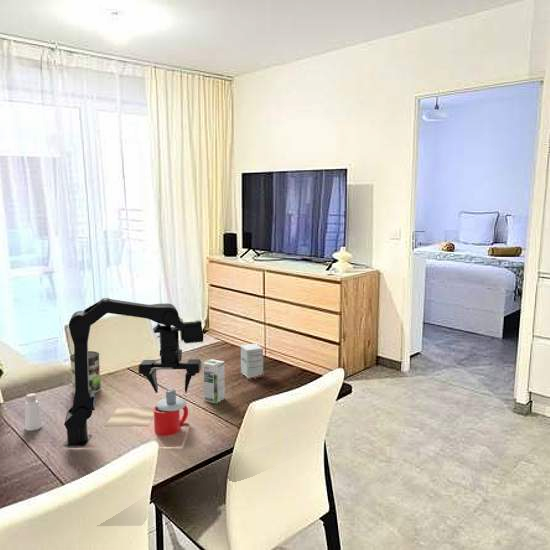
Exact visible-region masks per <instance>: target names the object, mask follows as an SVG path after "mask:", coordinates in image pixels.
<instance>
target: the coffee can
mask: <svg viewBox="0 0 550 550" xmlns="http://www.w3.org/2000/svg"><path fill="white" fill-rule="evenodd" d="M69 360H70V372H71V373H70V374H71V386H72V387H71V388H72V394H74V395H75V360H74V354H71V355H70V356H69ZM88 369H89V387H90V390H91V391H92V390H95V394H96V393H99V392H100V391H101V390H102V386H101V385H102V384H101V371H100V370H101V369H100V353H99V352H98V351H91V350H90V351H89V350H88Z"/></svg>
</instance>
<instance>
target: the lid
mask: <svg viewBox="0 0 550 550" xmlns="http://www.w3.org/2000/svg"><path fill="white" fill-rule="evenodd" d="M176 394H177V393H176V389H172V388H171V389H167V390H166V391H165V398H162V399H160V400H158V401H157V403H156V406H157V409H158V410H160V411H165V412H171V411H177V410H179V411H180V410H183V409H182V408H184V407H185V405H186V400H185V399H184V398H181V397H178V396H177V395H176ZM176 396H177V397H176ZM186 406H187V405H186Z"/></svg>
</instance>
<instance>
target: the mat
mask: <svg viewBox="0 0 550 550" xmlns="http://www.w3.org/2000/svg"><path fill="white" fill-rule="evenodd" d="M154 407H155V406H154ZM154 407H153V406H150V407H149V406H148V407H147V406H146V407H144V406H143V407H142V406H141V407H139V406H138V407H137V406H136V407H132V406H131V407H127V406H125V407H117V408H116V409H115V411H114V412H113V413H112V415H111V417H110V418H109V419H108V421H107V422H106V423H105V425H104V427H149V425H150V424H151V421H152V420H153V419H154Z"/></svg>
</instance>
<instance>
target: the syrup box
mask: <svg viewBox="0 0 550 550" xmlns="http://www.w3.org/2000/svg"><path fill="white" fill-rule="evenodd" d="M202 368H203V371H202V374H203V402H207V403H210V404H211V403H212V404H215V405H217V404H218V402H219V403H220V402H222V401H223V400H224V399H226V397H225V396H226V394H225V392H226V391H225V385H226V384H225V383H226V382H225V361H224V360H218V359H217V360H216V359H214V358H213V359H212V358H211V359H209V360H208V359H207V360H206V361H205V362H203V363H202ZM221 400H222V401H221Z"/></svg>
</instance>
